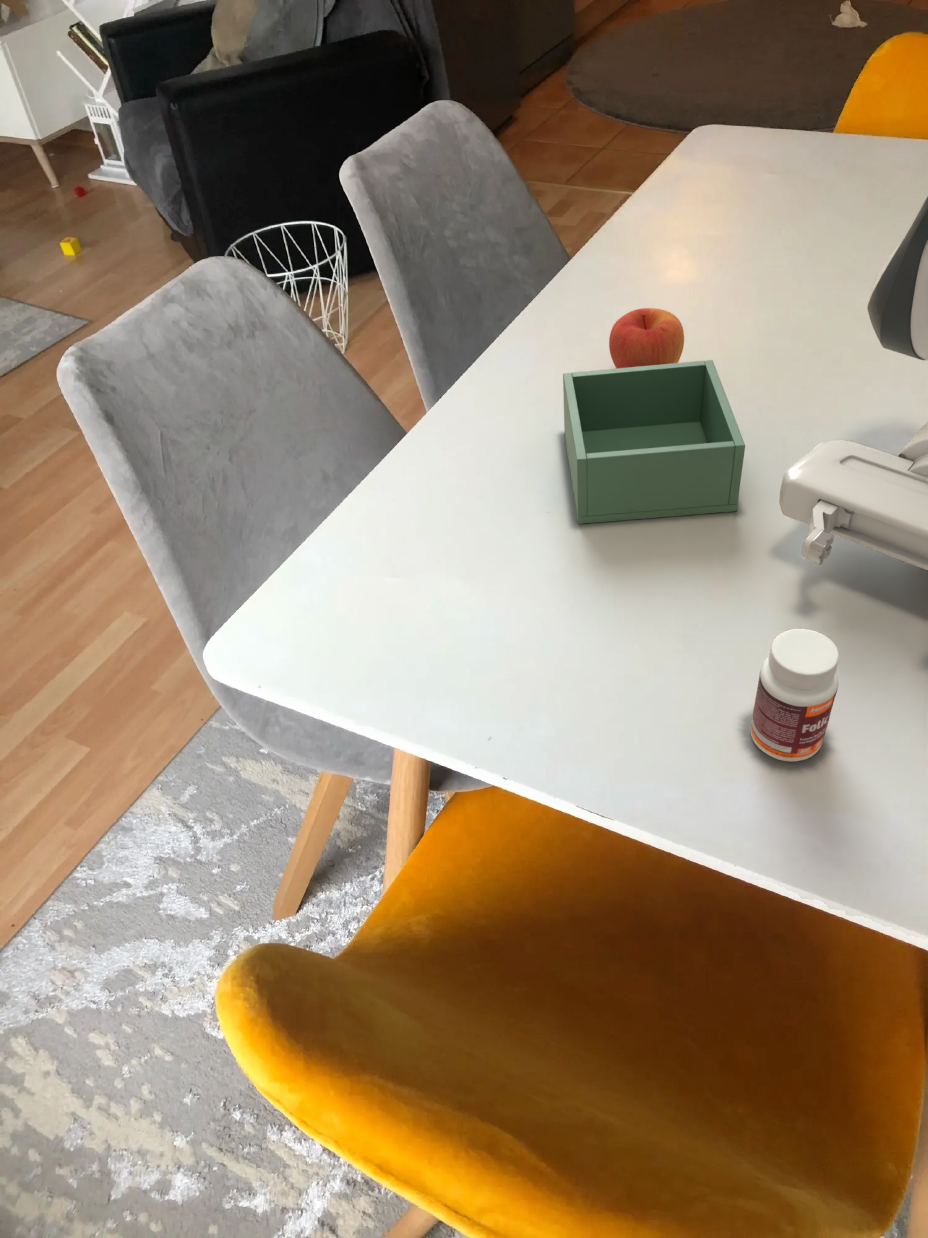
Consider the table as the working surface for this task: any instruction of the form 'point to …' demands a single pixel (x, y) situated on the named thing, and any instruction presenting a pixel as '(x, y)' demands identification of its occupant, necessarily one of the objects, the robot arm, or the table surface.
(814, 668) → the pill bottle
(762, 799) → the table surface
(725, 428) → the bin
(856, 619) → the table surface
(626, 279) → the table surface
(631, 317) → the apple
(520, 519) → the table surface
